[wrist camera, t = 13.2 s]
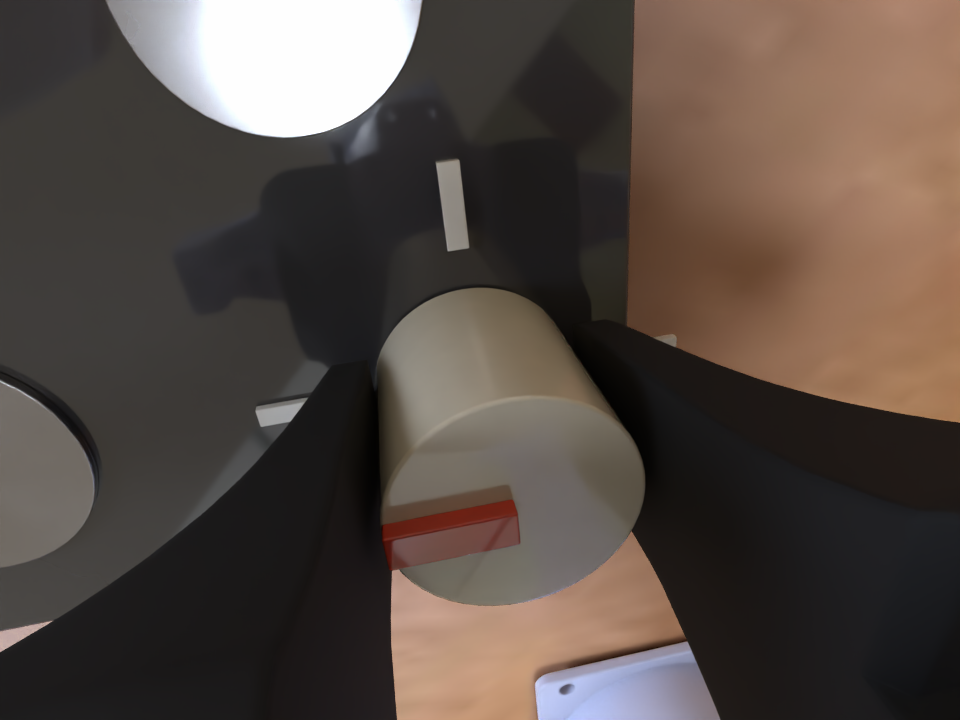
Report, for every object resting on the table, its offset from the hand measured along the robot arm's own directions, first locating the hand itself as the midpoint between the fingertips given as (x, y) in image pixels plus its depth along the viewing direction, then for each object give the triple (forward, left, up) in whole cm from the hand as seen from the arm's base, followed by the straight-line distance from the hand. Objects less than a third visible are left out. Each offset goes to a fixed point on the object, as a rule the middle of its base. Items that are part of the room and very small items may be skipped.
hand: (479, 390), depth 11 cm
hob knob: (0, 0, 0) cm, 0 cm away
